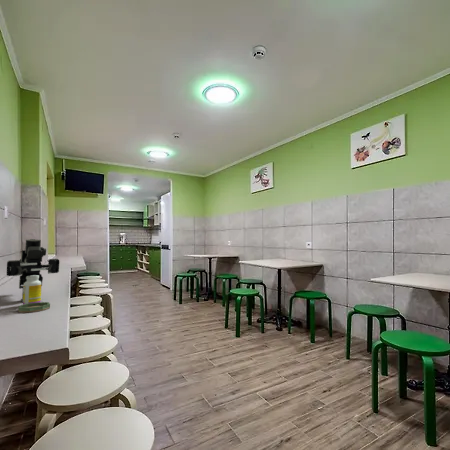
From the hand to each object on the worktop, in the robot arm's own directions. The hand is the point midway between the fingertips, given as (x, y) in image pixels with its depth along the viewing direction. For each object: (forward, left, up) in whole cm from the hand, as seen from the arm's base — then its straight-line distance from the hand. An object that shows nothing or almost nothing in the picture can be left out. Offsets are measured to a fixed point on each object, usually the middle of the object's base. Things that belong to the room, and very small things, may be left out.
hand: (35, 271), depth 113 cm
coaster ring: (-1, 0, -15) cm, 15 cm away
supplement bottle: (-12, 0, -16) cm, 20 cm away
